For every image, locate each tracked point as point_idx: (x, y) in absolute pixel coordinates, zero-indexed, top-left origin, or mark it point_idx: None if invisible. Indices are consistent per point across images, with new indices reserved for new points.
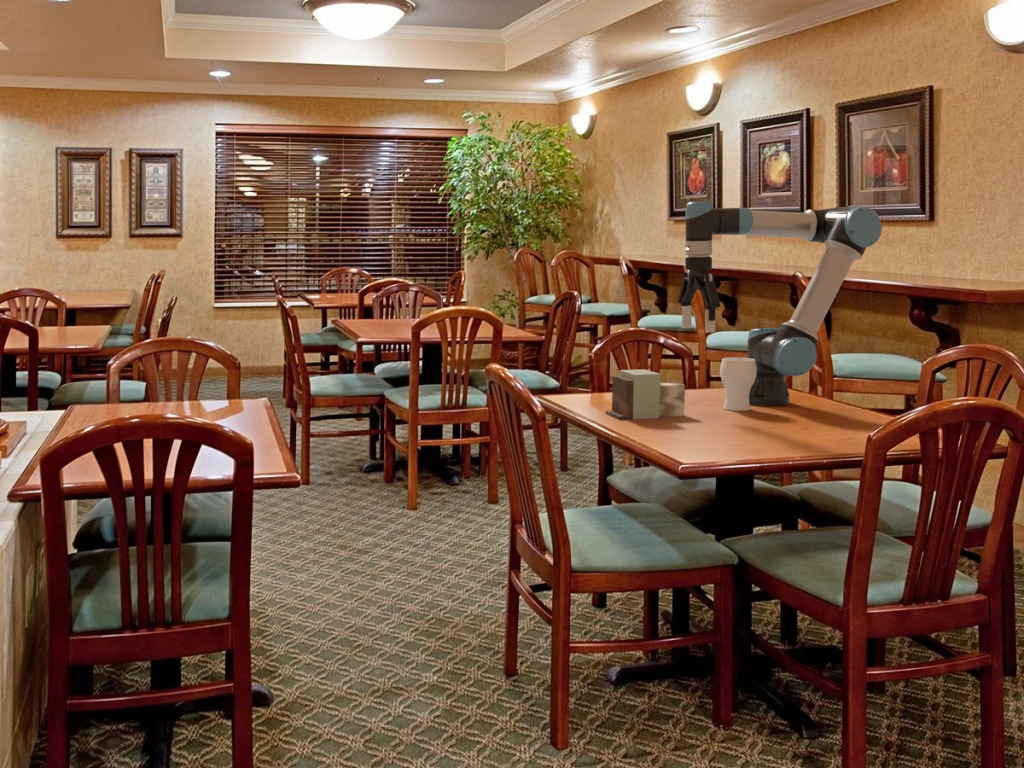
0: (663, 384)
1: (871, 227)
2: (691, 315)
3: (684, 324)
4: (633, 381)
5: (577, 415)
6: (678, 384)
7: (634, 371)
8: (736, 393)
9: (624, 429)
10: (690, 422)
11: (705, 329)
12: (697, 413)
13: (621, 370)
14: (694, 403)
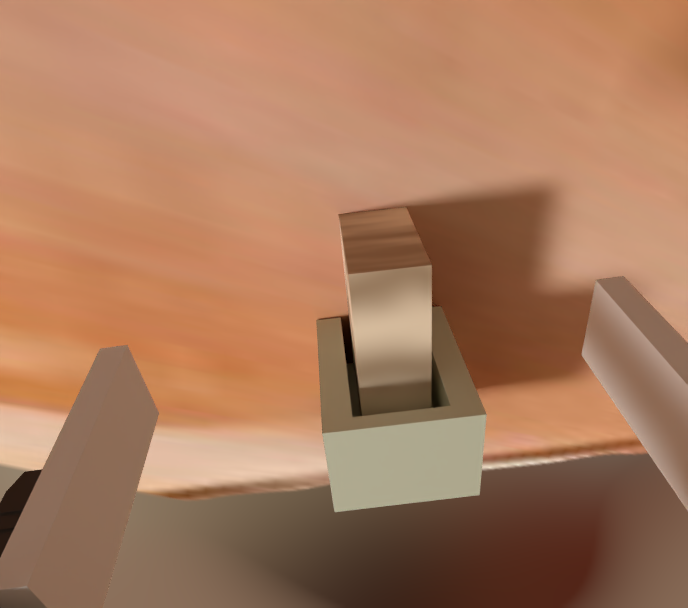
0: (395, 344)
1: None
2: (80, 453)
3: (145, 433)
4: None
5: None
6: (408, 286)
7: (385, 478)
8: None
9: (566, 424)
10: (536, 229)
11: (598, 372)
12: (362, 131)
13: (347, 508)
14: (71, 30)
